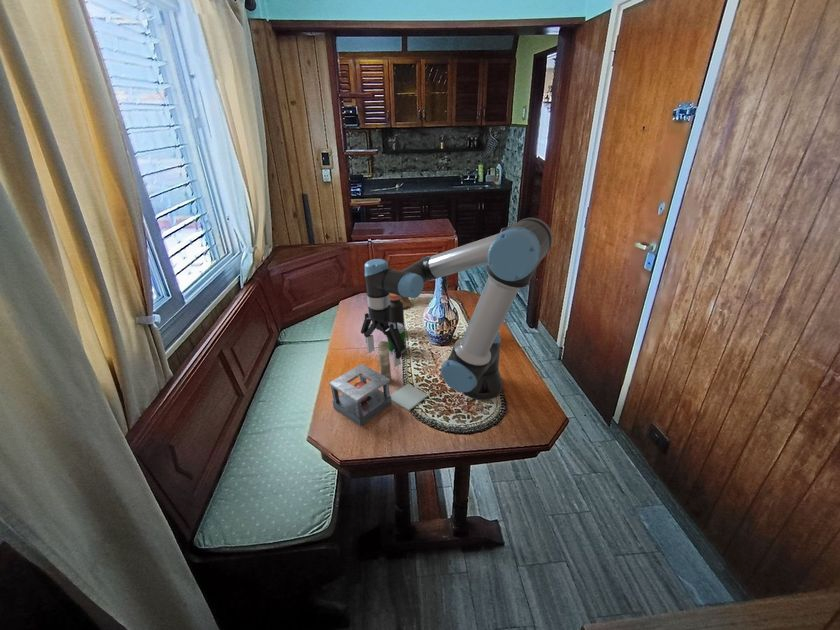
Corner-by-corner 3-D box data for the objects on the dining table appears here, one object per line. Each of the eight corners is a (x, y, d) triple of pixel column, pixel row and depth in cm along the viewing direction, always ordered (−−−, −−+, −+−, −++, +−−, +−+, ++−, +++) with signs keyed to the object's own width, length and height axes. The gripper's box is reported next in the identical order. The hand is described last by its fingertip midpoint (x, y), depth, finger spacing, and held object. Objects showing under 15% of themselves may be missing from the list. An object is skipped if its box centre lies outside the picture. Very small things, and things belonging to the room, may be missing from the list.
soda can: (404, 356, 157) (402, 331, 152) (386, 355, 159) (384, 329, 153) (408, 347, 164) (406, 322, 158) (391, 345, 165) (389, 320, 160)
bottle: (408, 333, 174) (405, 293, 165) (396, 339, 170) (393, 298, 160) (398, 328, 178) (395, 289, 169) (386, 334, 174) (383, 293, 165)
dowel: (393, 379, 144) (390, 343, 136) (386, 384, 141) (382, 347, 134) (386, 376, 146) (383, 339, 138) (379, 380, 143) (375, 344, 136)
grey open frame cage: (391, 403, 132) (389, 378, 127) (360, 426, 123) (356, 400, 118) (364, 387, 140) (361, 363, 135) (333, 407, 131) (329, 382, 126)
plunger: (370, 397, 130) (368, 385, 128) (360, 403, 127) (359, 391, 125) (362, 392, 132) (360, 380, 130) (353, 398, 130) (351, 386, 127)
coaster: (428, 396, 135) (428, 394, 134) (408, 411, 128) (408, 409, 128) (407, 384, 141) (407, 383, 140) (387, 398, 134) (387, 397, 134)
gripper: (414, 311, 124) (416, 366, 134) (363, 292, 139) (368, 342, 149) (397, 320, 119) (401, 376, 129) (346, 299, 134) (353, 350, 144)
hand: (383, 358), depth 139 cm, fingers open, 13 cm apart
